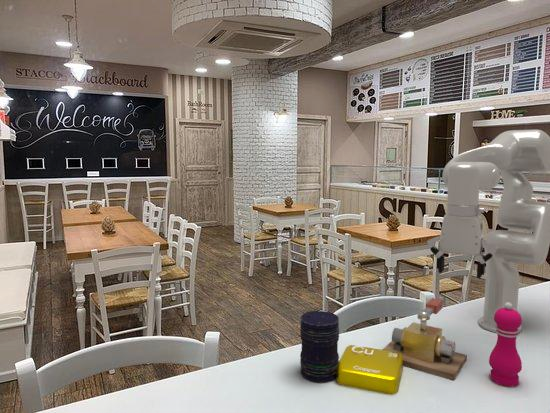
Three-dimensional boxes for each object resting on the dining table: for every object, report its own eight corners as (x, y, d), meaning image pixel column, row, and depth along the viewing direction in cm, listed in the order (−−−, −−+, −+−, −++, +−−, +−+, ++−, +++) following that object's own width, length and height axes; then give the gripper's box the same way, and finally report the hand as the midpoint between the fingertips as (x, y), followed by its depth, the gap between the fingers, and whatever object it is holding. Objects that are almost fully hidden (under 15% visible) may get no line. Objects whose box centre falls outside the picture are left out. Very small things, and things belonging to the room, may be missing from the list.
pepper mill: (525, 389, 103) (530, 308, 100) (492, 386, 104) (497, 306, 102) (515, 374, 110) (519, 298, 108) (484, 371, 111) (488, 296, 109)
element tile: (334, 385, 106) (334, 367, 106) (347, 358, 120) (347, 342, 120) (397, 397, 101) (397, 378, 100) (403, 367, 115) (403, 350, 114)
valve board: (395, 341, 129) (395, 337, 129) (466, 360, 117) (467, 355, 117) (378, 358, 119) (378, 353, 119) (454, 380, 107) (454, 374, 107)
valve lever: (427, 323, 115) (427, 314, 114) (415, 320, 117) (416, 312, 116) (442, 308, 126) (443, 300, 126) (431, 305, 128) (432, 298, 127)
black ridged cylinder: (342, 367, 114) (342, 313, 112) (334, 386, 105) (335, 327, 103) (305, 361, 118) (305, 309, 116) (295, 379, 108) (295, 322, 106)
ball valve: (398, 342, 126) (399, 309, 124) (456, 357, 116) (458, 321, 115) (389, 351, 120) (390, 316, 119) (449, 367, 111) (450, 330, 109)
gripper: (501, 211, 111) (498, 275, 113) (432, 207, 121) (430, 266, 123) (496, 215, 105) (493, 283, 107) (424, 210, 115) (422, 272, 117)
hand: (459, 274), depth 115 cm, fingers open, 9 cm apart
